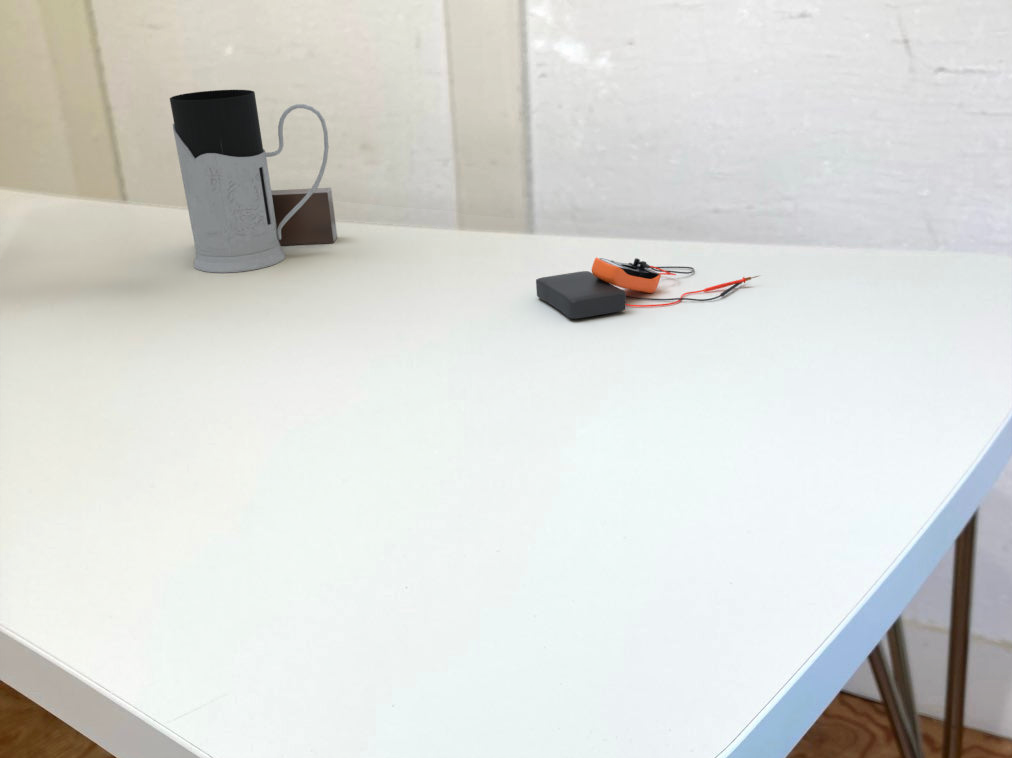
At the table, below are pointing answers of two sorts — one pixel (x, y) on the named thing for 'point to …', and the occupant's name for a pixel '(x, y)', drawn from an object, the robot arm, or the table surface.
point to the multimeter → (609, 287)
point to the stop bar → (305, 216)
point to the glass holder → (230, 179)
